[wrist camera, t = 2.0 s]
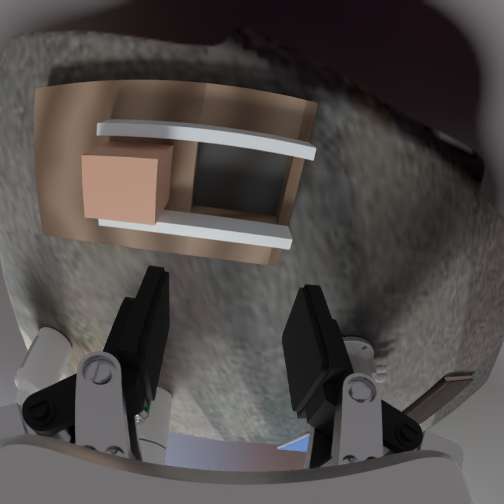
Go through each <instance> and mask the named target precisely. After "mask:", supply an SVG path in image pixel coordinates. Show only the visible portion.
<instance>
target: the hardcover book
mask: <svg viewBox="0 0 504 504" xmlns="http://www.w3.org/2000/svg"><path fill="white" fill-rule="evenodd" d="M473 380H474V379H472V377H471V375H470V376H455V377H442V378H441V379H440V380H439V381H438V382H437V383H436V384H435V385H434V386H433V387H431V388H430V389H429V390H428V391H427V392H426V393H425V394H423V395H422V396H421V397H420V398H419V399H417V400H416V401H415V402H414V403H413V404H411V405H410V406H409V407H408V408H406V409H405V410H404V411H402V413H404V414H405V415H407V416H408V417H410V418H412V419H413V420H415V421H416V422H417V423H418V424H421V423H422V422H424V421H425V420H426V419H428V418H429V417H430V416H432V415H433V414H434V413H436V412H437V411H438V410H439V409H441V408H442V407H443V406H444V405H446V404H447V403H448V402H449V401H451V400H452V399H453V398H454V397H455V396H456V395H458V394H459V393H460V392H461V391H462V390H463V389H464V388H465V387H467V386H468V385H469V384H470V383H471V382H472V381H473Z"/></svg>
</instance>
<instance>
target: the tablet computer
mask: <svg viewBox="0 0 504 504" xmlns="http://www.w3.org/2000/svg"><path fill="white" fill-rule="evenodd" d="M308 440H309V433H306V434H303V435H301V436H299V437H297V438H294V439H292V440H290V441H288V442H286V443H284V444H282V445H280V446H278V447H277V448H278V449H282V450H293V451H305V452H307V447H308Z"/></svg>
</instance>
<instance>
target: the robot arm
mask: <svg viewBox="0 0 504 504" xmlns="http://www.w3.org/2000/svg"><path fill="white" fill-rule="evenodd" d="M168 331H169V272H165V271H164V267H157V266H149V267H148V269H147V272H146V274H145V276H144V279H143V281H142V284H141V286H140V289H139V291H138V294H137V296H136V298H130V297H125V298H124V300H123V302H122V305H121V307H120V309H119V312H118V314H117V316H116V319H115V321H114V324H113V326H112V329H111V331H110V334H109V336H108V339H107V342H106V344H105V347H104V350H103V352H101V351H98V352H92V353H90V354H87V355H86V356H85V357H83V358H82V359H81V361H80V362H79V364H78V368H77V373H76V374H74V375H72V376H70V377H68V378H66V379H64V380H61V381H59V382H57V383H55V384H53V385H50V386H48V387H46V388H44V389H42V390H39V391H37V392H35V393H33V394H31V395H30V396H28V397H27V398H26V400H25V401H24V403H23V404H21V405H19V404H18V403H14V404H11V405H8V406H4V407H0V504H472V500H471V497H470V493H469V490H468V486H467V483H466V480H465V478H464V475H463V473H462V471H461V467H462V462H463V451H462V449H461V447H460V446H459V445H458V444H456V443H454V442H452V441H450V440H447V439H445V438H443V437H440V436H438V435H436V434H433V433H431V432H429V431H427V430H425V431H424V432H422V430H421V427H420V426H419V424H418V423H417V422H416V421H415V420H413V419H412V418H410V417H408V416H407V415H405V414H404V413H402V412H400V411H399V410H397V409H396V408H394V407H393V406H391V405H389V404H388V403H386V402H385V401H383V400H382V399H381V394H380V389H379V386H378V384H377V383H383V382H385V381H386V379H387V375H386V372H387V365H378V366H376V365H375V364H374V363H373V358H374V350H373V348H372V345H371V344H370V343H369V342H368V341H367V340H365V339H363V338H359V337H342V335H341V332H340V329H339V326H338V324H337V322H336V320H334V319H332V318H331V315H330V312H329V309H328V306H327V303H326V300H325V298H324V295H323V292H322V289H321V287H320V286H318V285H308V284H306V285H305V286H304V288H299V290H298V293H297V296H296V299H295V302H294V305H293V307H292V310H291V313H290V316H289V318H288V321H287V324H286V327H285V329H284V332H283V336H282V344H283V350H284V357H285V363H286V370H287V377H288V383H289V390H290V397H291V403H292V409H293V411H297V416H298V418H307V423H309V424H310V425H311V426H310V433H309V440H308V447H307V454H306V460H305V466H304V469H302V470H290V471H270V472H231V471H230V472H229V471H212V470H200V469H189V468H181V467H173V466H166V465H160V464H154V463H149V462H143V459H142V453H141V447H140V441H139V434H138V427H137V419H136V415H137V414H139V413H141V412H143V407H148V406H149V401H150V400H151V401H154V400H155V396H156V391H157V385H158V380H159V374H160V369H161V364H162V359H163V354H164V350H165V345H166V340H167V335H168Z"/></svg>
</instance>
